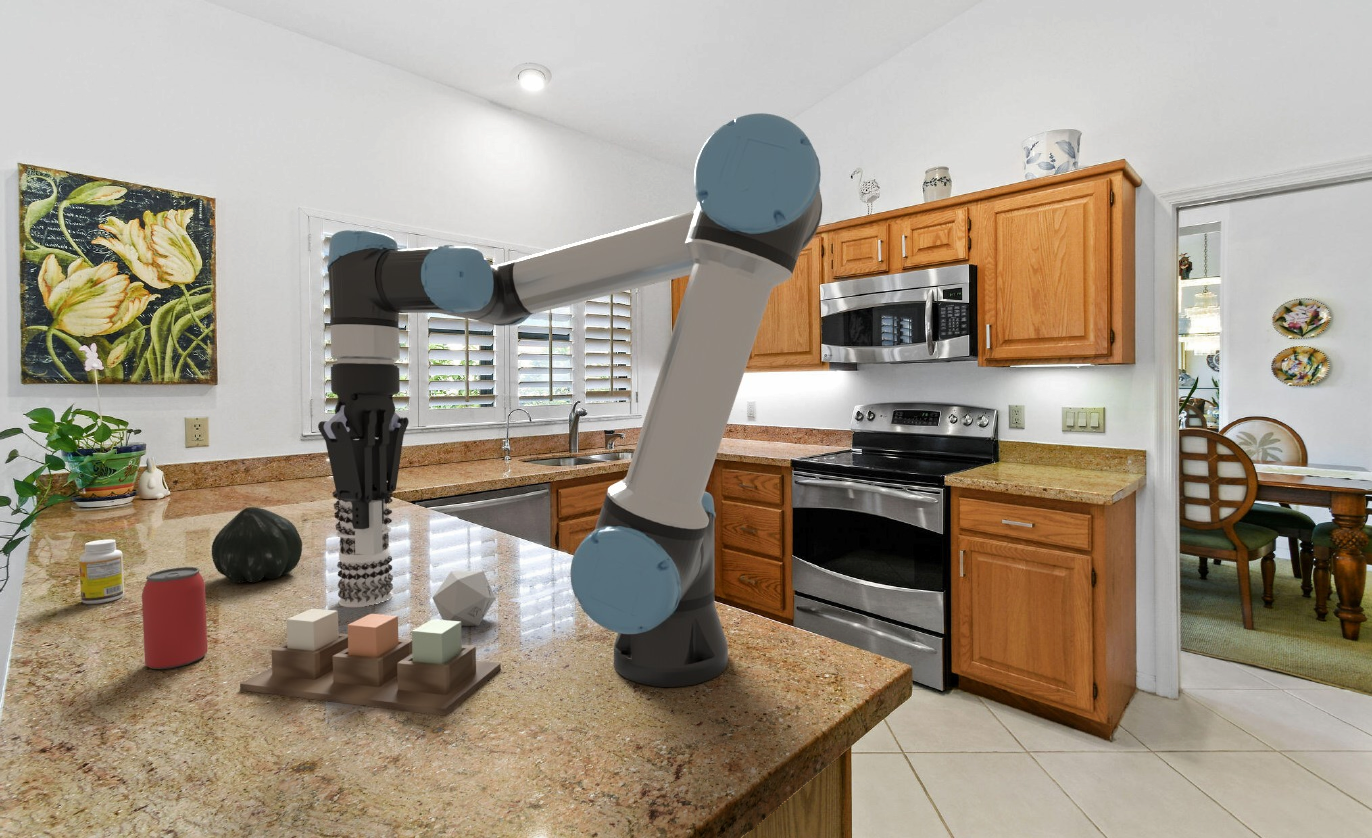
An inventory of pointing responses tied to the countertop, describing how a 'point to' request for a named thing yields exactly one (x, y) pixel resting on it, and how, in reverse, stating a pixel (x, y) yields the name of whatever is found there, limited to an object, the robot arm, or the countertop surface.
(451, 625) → the sage button
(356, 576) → the decorative candle
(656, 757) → the countertop surface
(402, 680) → the button board
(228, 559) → the squash
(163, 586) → the beer can
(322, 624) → the ivory button
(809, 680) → the countertop surface
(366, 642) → the terracotta button
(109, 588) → the supplement bottle
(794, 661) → the countertop surface
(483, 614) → the die
